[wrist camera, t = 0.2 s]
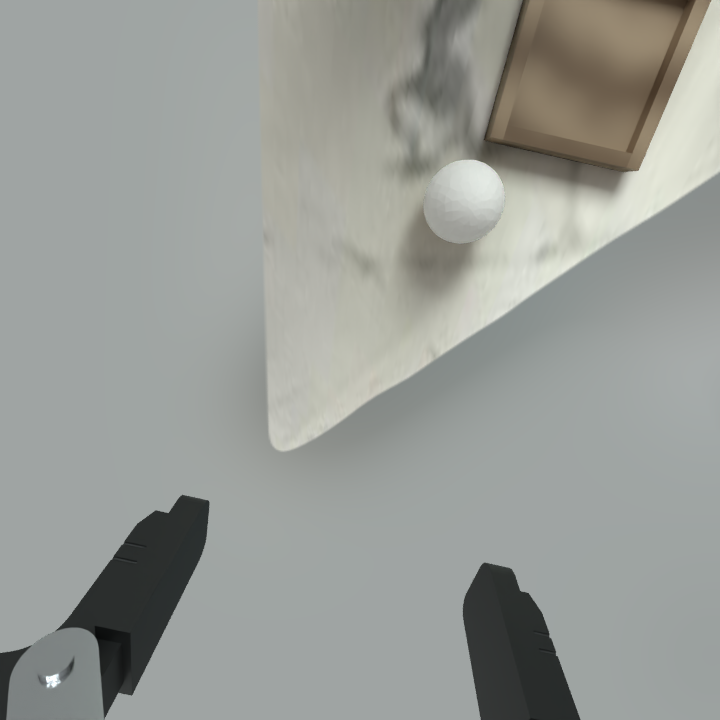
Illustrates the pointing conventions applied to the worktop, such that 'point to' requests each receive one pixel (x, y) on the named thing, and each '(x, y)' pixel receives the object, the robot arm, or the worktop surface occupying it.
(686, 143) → the worktop surface
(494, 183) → the egg
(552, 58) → the walnut tray
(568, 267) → the worktop surface
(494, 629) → the robot arm
